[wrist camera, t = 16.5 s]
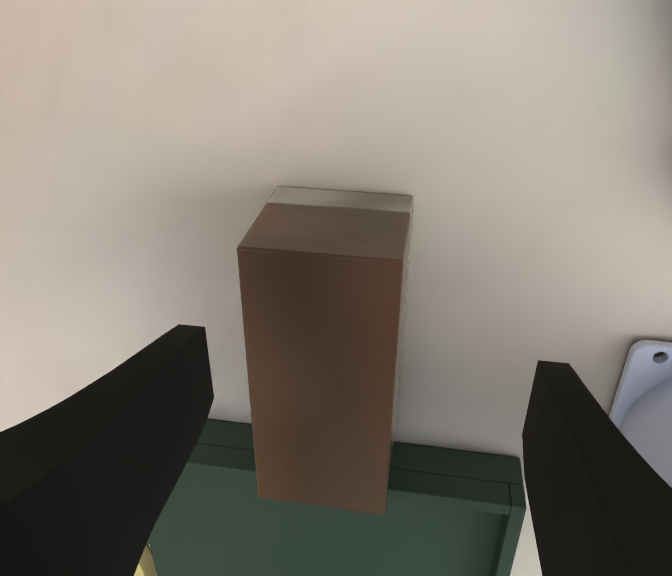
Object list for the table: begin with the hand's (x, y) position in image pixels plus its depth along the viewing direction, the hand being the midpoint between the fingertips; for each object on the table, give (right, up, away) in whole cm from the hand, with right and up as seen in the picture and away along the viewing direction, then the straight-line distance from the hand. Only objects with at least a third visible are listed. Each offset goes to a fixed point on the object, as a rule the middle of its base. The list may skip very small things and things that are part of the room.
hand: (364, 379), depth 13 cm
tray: (-1, -12, +19) cm, 22 cm away
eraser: (0, +1, +12) cm, 12 cm away
